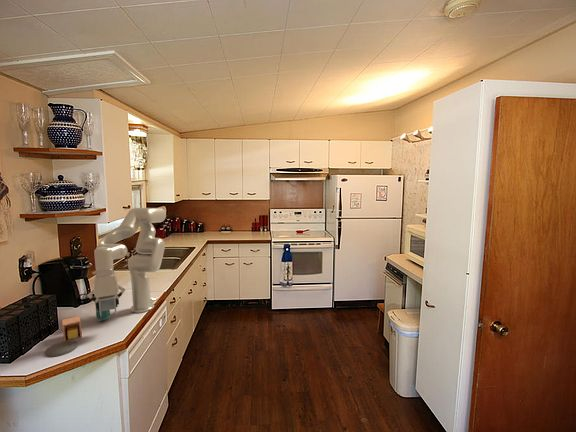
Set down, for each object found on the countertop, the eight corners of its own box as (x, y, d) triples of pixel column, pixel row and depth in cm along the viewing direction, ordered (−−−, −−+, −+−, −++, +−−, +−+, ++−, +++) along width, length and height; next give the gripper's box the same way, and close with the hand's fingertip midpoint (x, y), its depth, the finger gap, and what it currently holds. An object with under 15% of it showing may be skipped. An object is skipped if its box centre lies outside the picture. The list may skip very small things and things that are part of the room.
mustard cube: (68, 336, 154) (67, 328, 153) (77, 333, 156) (77, 325, 155) (68, 339, 150) (67, 331, 150) (78, 336, 153) (77, 329, 152)
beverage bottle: (113, 317, 173) (110, 282, 170) (106, 323, 166) (103, 286, 164) (100, 318, 173) (97, 282, 170) (93, 323, 166) (90, 286, 163)
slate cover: (100, 311, 157) (98, 295, 156) (116, 308, 160) (114, 292, 159) (99, 316, 151) (98, 300, 150) (116, 313, 154) (115, 297, 153)
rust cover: (64, 335, 154) (62, 319, 153) (81, 331, 158) (79, 316, 157) (64, 341, 148) (62, 325, 147) (82, 336, 152) (80, 321, 151)
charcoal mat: (68, 340, 150) (68, 338, 149) (83, 346, 144) (83, 344, 144) (39, 352, 139) (39, 350, 139) (54, 359, 133) (53, 357, 133)
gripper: (83, 277, 146) (86, 314, 148) (125, 271, 154) (128, 306, 156) (84, 273, 152) (87, 309, 154) (124, 268, 161) (127, 301, 163)
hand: (107, 307), depth 155 cm, fingers closed on slate cover, 7 cm apart
